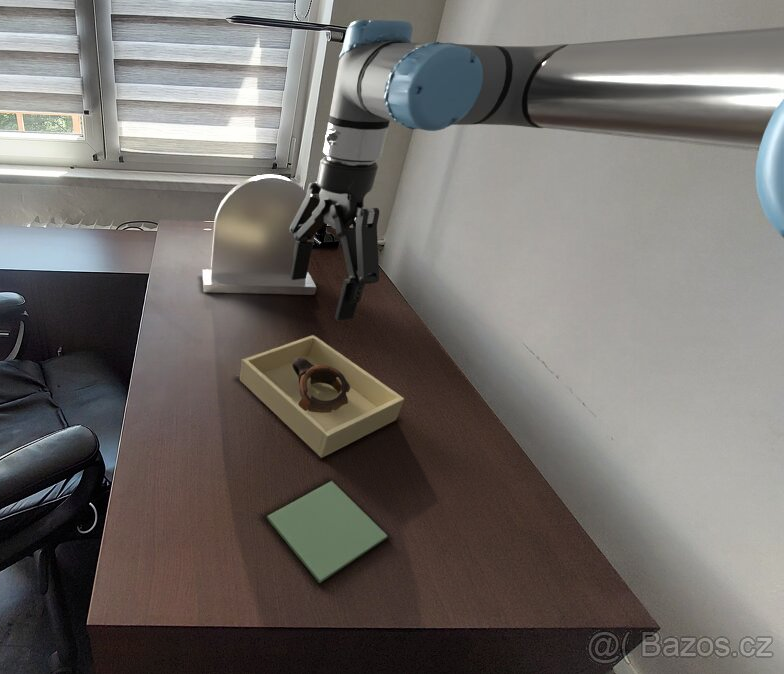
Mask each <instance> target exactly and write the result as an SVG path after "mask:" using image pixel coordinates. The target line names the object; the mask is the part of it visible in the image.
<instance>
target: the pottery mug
mask: <svg viewBox="0 0 784 674" xmlns="http://www.w3.org/2000/svg"><path fill="white" fill-rule="evenodd" d="M292 366H293V369H294V370H295V372H296V374H297V376H298V377H299V385H300V395H301V397H302V398H301V400H300V401H299V402H298V403H299V404H298V405H299V406H300V407H301V408H302V409H303V410H304V411H307V410H308V411H310V412H318V413H330V412H332V410H337V409H339V408H340V407H341V406H343V405H345V404H347V403H348V399H347V396H346V392H349V389H350V385H349V384H348V382H347V381H346V379H345V377H344V375H343V374H342V373H341V372H339V371H338V370H337V369H335V368H333V367H330V366H327V365H318V366H314V365H312V364H311V363H310V362H309V361H307V360H306V359H304V358H302V357H297V358H296V359H295V360H294V361H293V363H292ZM309 377H310V379H311V381H310V383H311V384H315V383H326V384H329V385H331V386H332V387H333V388H334V389H336V391H337V392H338V393H340V392H341V393H340V395H339V396H338V397H337V398H335V399H333V400H328V401H323V400H319V399H317V398H315V397H313V396H311V399H310V398H309V397H308V395H307V392H308V389H307V380H308V379H309ZM337 377H338V378H339V379H340V381H341V383H340V382H339V381H338V380H337V379H336V378H337ZM341 384H342V385H341Z"/></svg>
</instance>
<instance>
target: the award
mask: <svg viewBox="0 0 784 674" xmlns="http://www.w3.org/2000/svg"><path fill="white" fill-rule="evenodd" d="M306 194H307V191H306V190H305V189H304V188H303V187H301V185H299V184H298V183H297V182H295V181H294V180H293V179H290V178H288V177H286V176H282V175H279V174H262V175H256V176H253V177H250V178H246V179H245V180H243V181H241V182H240V183H238V184H237V185H236V186H234V187H232V189H230V191H229V192H228V193H227V194H226V195H225V196H224V197H223V199H222V200H221V202H220V204H219V206H218V208H217V210H216V213H215V216H214V222H213V233H212V234H213V235H212V248H211V260H210V261H211V262H210V269H202V278H201V279H202V286H203V292H204V293H224V294H225V293H227V294H229V293H230V294H266V295H267V294H268V295H269V294H271V295H303V296H304V295H310V296H314V295H316V290H317V285H316V283H315V282H314V280H313V278H312V276H311V275H310V273H309V272H308V271H307V276H306V278H304V279H297V280H291V279H290V275H291V270H292V264H293V258H294V249H295V243H296V241H295V239H294V234H293V233H290V230H289V229H290V226H291V224H292V222H293V220H294V218H295V216H296V214H297V212H298V211H299V209H300V207H301V205H302V203H303V201H304V199H305V197H306ZM300 225H301V224H300ZM315 237H316V234H315V235H314V236H313V238H314V239H313V238H312V240H307V241H311V242H313V243H314V241H315ZM313 245H314V244H313ZM313 245H312V248H313ZM312 251H313V249H312V250H311V252H312Z"/></svg>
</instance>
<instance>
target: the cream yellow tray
mask: <svg viewBox="0 0 784 674" xmlns="http://www.w3.org/2000/svg"><path fill="white" fill-rule="evenodd" d="M297 357H302V358H304V359H306V360H307V361H309V362H310V363H311V364H312V365H314V366H318V365H327V366H330V367H333V368H335V369H337V370H338V371H339V372H341V373H342V374H343V375H344V377H345V379H346V381H347V382H348V384H349V385H350V389H349V392H346V396H347V399H348V403H347V404H345V405H343V406H341V407H340V408H339V409H337V410H332V412H330V413H318V412H310V411H308V410H307V411H304V410H303V409H302V408H301V407H300V406H299V405H298V404H299V403H298V402H299V401H300V400H301V398H302V397H301V395H300V385H299V377H298V376H297V374H296V372H295V370H294V369H293V366H292V363H293V361H294V360H295V359H296V358H297ZM336 379H337V380H338V381H339V382H340V383H341V381H340V379H339V378H338V377H337V378H336ZM239 381H240V382H241V383H242V384H244V386H245V387H246V388H247V389H248V390H250V391H251V393H253V394H254V395H255V396H256V397H257V398H258V399H259V400H260V401H261V402H262V403H263V404H264V405H265V406H266V407H267V408H269V410H271V412H273V414H274V415H276V416H277V417H278V418H279V420H281V421H282V422H283V423H284V424H285V425H287V427H288V428H289V429H290V430H291V431H292V432H293V433H294V434H296V435H297V436H298V437H299V439H301V440H302V441H303V442H304V443H305V444H306V445H307V446H308V447H309V448H311V450H312V451H313V452H314V453H315V454H317V455H318V457H320V459H323V458H324V457H326V456H328V455H330V454H333V453H334V452H336V451H338V450H340V449H342V448H344V447H346V446H348V445H350V444H351V443H354V442H355V441H358V440H360V439H362V438H364V437H365V436H367V435H369V434H372V433H373V432H375V431H378V430H379V429H381V428H383V427H385V426H387V425H389V424H391V423H393V422H395V421H397V419H398V417H399V414H400V412H401V409H402V407H403V404H404V402H405V398H404V397H403V396H401V395H400V394H398V393H397V392H396V391H394V390H393V389H391V387H388V386H387V385H386V384H384V383H383V382H381V381H380V380H379V379H377V378H375V376H373V375H371V374H370V373H369V372H368V371H366V370H364V369H363V368H361V367H360V366H359V365H357V364H356V363H354V362H352V361H351V360H350V359H349V358H347V357H346V356H345V355H343V354H341V353H340V352H339V351H337V350H336V349H334V347H331V346H330V345H328V344H327V343H326V342H324V341H323V340H321V339H320V338H319V337H317V336H316V335H314V334H311V335H310V336H306V337H303V338H300V339H298V340H295V341H292V342H289V343H286V344H284V345H280V346H278V347H274V348H272V349H268V350H266V351H263V352H260V353H257V354H255V355H252V356H249V357H246V358H242V359H241V366H240V374H239ZM310 381H311V379H310V377H309V379H308V380H307V389H308V392H307V395H308V397H309V398H310V399H311V396H313V397H315V398H317V399H319V400H323V401H328V400H333V399H335V398H337V397H338V396H339V395H340V393H341V392H340V393H338V392H337V391H336V389H334V388H333V387H332V386H331V385H329V384H326V383H315V384H311V383H310ZM341 385H342V384H341Z"/></svg>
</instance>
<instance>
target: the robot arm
mask: <svg viewBox="0 0 784 674" xmlns="http://www.w3.org/2000/svg"><path fill="white" fill-rule="evenodd" d="M413 30H414V29H413V25H412V23H411V22H409V21H407V20H406V21H405V20H388V19H386V20H385V19H368V20H367V19H357V20H354V21H353V22H351V23H350V24H349V25H348V26H347V29H346V32H345V36H344V39H343V44H342V48H341V52H340V54H339V56H338V65H337V71H336V77H335V83H334V89H333V93H332V100H331V105H330V111H329V117H328V123H327V129H326V134H325V139H324V144H323V149H322V153H323V154H324V157H323V158H321V160H320V161H319V162H320V163H319V168H318V174H317V179H316V182H310V183H309V184H308V187H307V189H306V193H307V194H306V197H305V199H304V201H303V203H302V205H301V207H300V209H299V211H298V212H297V214H296V216H295V218H294V220H293V222H292V224H291V226H290V229H289V230H290V233H293V234H294V239H295V241H296V243H295V249H294V258H293V264H292V270H291V275H290V279H291V280H297V279H304V278H306V276H307V272H308V270H309V265H310V260H311V256H312V251H313V247H312V245H314V242H311V241H307V240H312V238H313V236H314V235H315V236H316V234H317V233H318V232H319V231H320V230H321V229H322V228H323V227H324V226H325V225H330V227H331V228H332V229H334V230H335V232H336V235H337V237H339V238H340V242H341V246H342V247H341V248H342V251H343V256H344V261H345V265H346V270H347V274H348V278H344V279H343V283H342V288H341V291H340V295H339V299H338V303H337V306H336V311H335V315H334V319H335V320H336V321H343V320H350V319H354V317H355V312H356V309H357V305H358V303H359V302H360V301H361V299H362V296H363V293H364V290H365V285H368V284H375V283H378V282H379V281H380V265H379V244H378V243H379V241H378V240H379V239H378V221H379V217H380V209H379V208H378V207H366V206H365V205H364V203H365V197H366V196H367V194H369V193H370V192H371V191H372V190H373V188H374V183H375V180H376V176H377V172H378V168H379V165H378V163H377V161H379V160H380V159H381V158H382V154H383V151H384V147H385V146H384V145H385V142H386V137H387V134H388V129H389V126H390V122H393V123H395V124H398V125H400V126H403V127H404V128H406V129H410V130H422V131H427V132H436V131H437V132H438V131H441V130H445V129H446V128H448V127H450V126H469V125H470V126H472V125H492V126H493V125H494V126H495V125H496V126H514V127H525V128H533V129H548V130H559V131H566V132H567V131H568V132H577V133H585V134H586V133H587V134H596V135H604V136H615V137H623V138H633V139H641V140H649V141H661V142H668V143H669V142H670V143H679V144H688V145H696V146H706V147H716V148H724V149H734V150H741V151H742V150H743V151H751V152H757V157H756V164H755V187H756V192H757V197H758V200H759V203H760V206H761V208H762V210H763V213H764V216H765V217H766V219H767V220H768V222H769V223H770V225H771V226H772V227H773V229H774V230H775V231H776V232H777V234H779V236H781V237H782V238H783V239H784V26H775V27H763V28H750V29H738V30H727V31H713V32H703V33H689V34H678V35H677V34H676V35H667V36H666V35H665V36H653V37H642V38H641V37H640V38H629V39H627V38H626V39H616V40H605V41H592V42H581V43H562V44H550V45H535V46H534V45H531V46H527V45H526V46H525V45H524V46H523V45H519V46H515V45H511V46H509V45H508V46H507V45H506V46H505V45H493V44H492V45H490V44H489V45H487V44H465V43H464V44H463V43H455V42H440V41H435V42H433V41H432V42H412V35H413ZM300 224H301V225H300ZM351 226H352V227H351ZM313 239H314V240H315V237H314V238H313ZM311 250H312V251H311Z"/></svg>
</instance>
